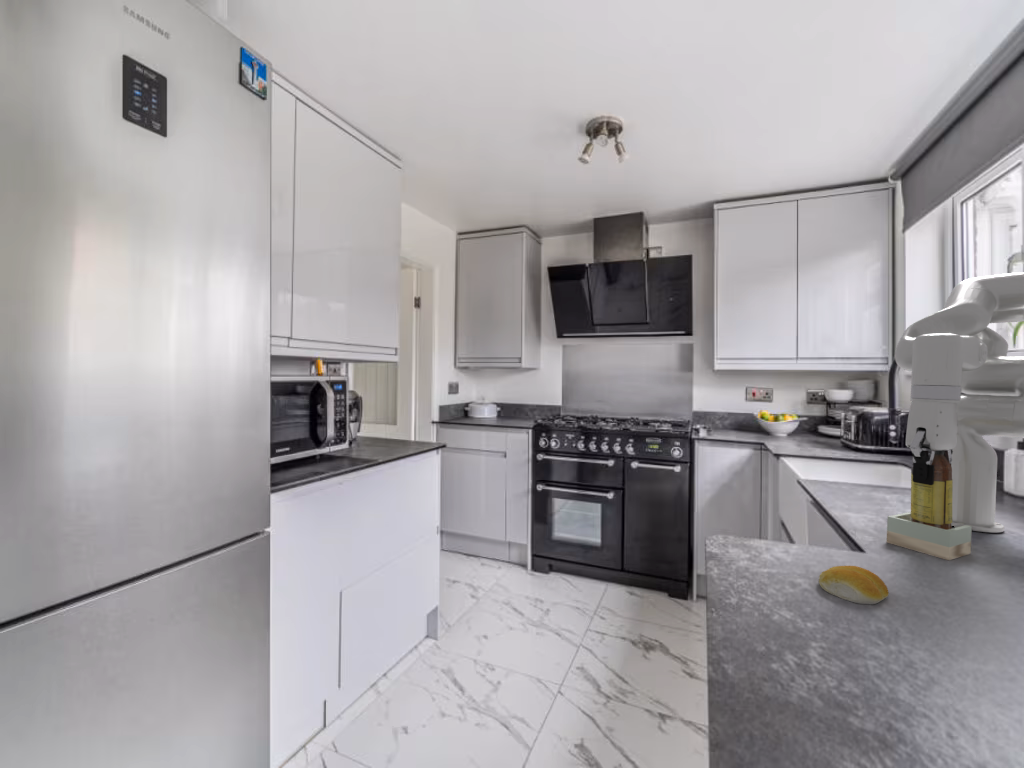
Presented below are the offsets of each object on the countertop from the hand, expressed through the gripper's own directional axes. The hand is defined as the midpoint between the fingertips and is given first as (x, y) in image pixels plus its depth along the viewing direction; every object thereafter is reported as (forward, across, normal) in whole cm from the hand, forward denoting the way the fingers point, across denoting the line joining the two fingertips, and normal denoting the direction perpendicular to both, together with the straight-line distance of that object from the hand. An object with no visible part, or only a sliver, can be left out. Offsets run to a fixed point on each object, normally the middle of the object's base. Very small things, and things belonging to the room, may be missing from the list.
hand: (931, 481), depth 91 cm
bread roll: (+14, +38, +5) cm, 41 cm away
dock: (+14, +1, 0) cm, 14 cm away
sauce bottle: (+10, 0, 0) cm, 10 cm away
